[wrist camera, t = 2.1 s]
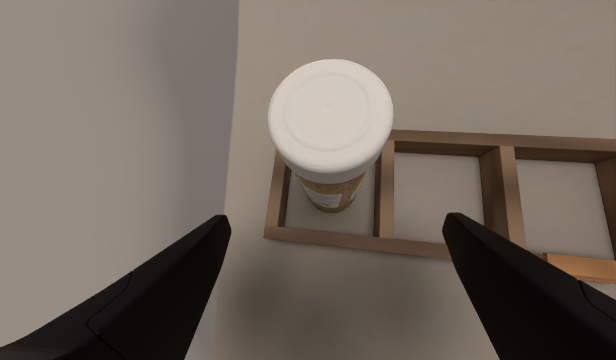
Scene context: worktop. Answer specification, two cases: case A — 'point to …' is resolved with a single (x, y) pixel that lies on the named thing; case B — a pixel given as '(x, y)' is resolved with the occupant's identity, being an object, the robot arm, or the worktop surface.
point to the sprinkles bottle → (330, 128)
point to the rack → (495, 189)
